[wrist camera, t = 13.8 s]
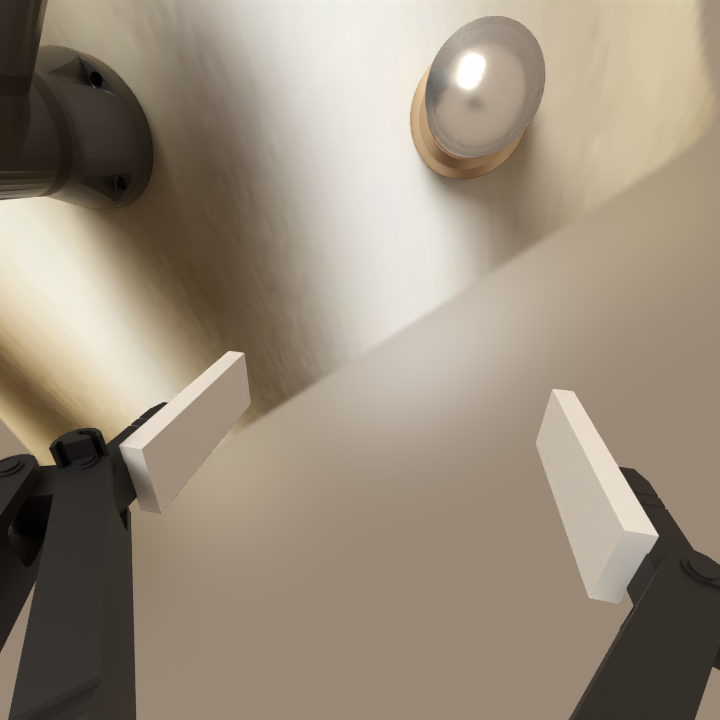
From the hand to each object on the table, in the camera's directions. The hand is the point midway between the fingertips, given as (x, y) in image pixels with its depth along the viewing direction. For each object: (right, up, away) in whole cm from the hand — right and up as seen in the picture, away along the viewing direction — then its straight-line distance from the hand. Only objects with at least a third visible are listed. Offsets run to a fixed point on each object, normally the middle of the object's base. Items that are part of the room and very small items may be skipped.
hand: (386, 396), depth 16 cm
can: (+8, +23, +16) cm, 29 cm away
